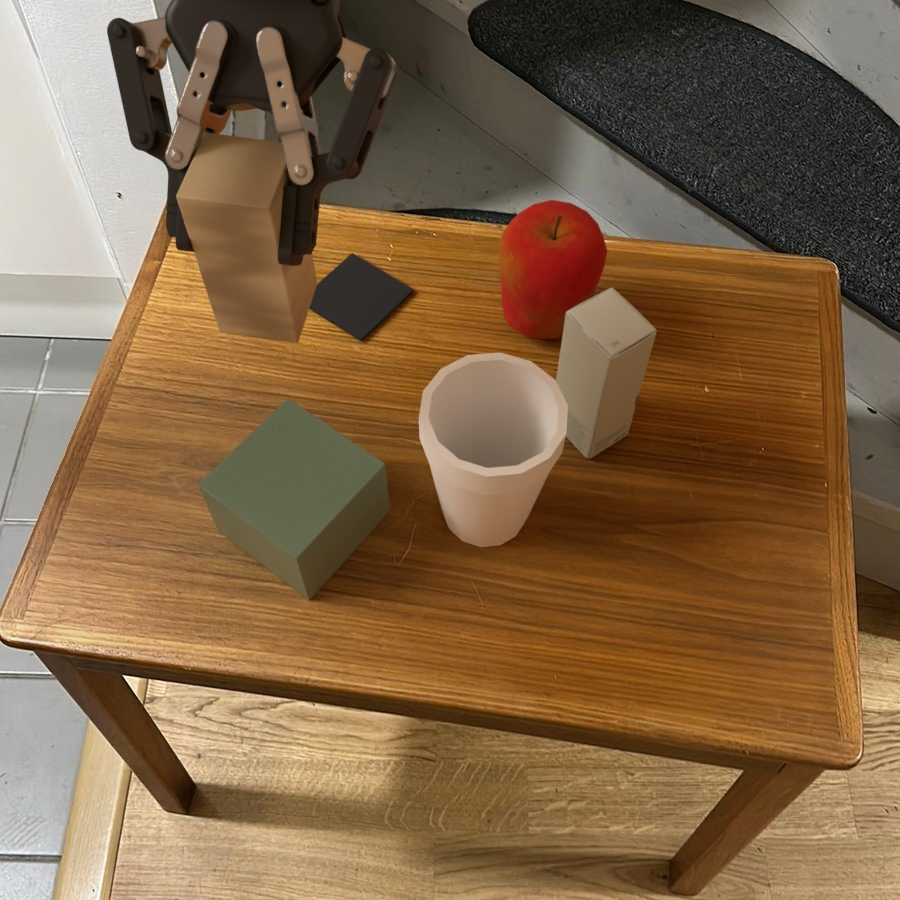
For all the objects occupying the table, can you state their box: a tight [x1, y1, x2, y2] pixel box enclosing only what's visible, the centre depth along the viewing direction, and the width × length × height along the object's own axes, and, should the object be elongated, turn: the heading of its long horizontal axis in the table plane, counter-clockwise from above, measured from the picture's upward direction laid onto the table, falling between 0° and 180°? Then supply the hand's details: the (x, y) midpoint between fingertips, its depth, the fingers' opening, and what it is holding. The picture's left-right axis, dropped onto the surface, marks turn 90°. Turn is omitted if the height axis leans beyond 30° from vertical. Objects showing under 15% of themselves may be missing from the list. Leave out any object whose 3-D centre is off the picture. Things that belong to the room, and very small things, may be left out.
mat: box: [309, 252, 415, 343], centre depth 80 cm, size 7×7×1 cm
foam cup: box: [418, 351, 568, 548], centre depth 64 cm, size 10×9×13 cm
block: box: [176, 133, 318, 344], centre depth 48 cm, size 4×4×10 cm
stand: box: [197, 397, 390, 601], centre depth 65 cm, size 9×9×7 cm
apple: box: [498, 199, 608, 340], centre depth 74 cm, size 9×8×12 cm
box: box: [555, 287, 657, 460], centre depth 68 cm, size 5×4×13 cm
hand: (240, 255), depth 46 cm, fingers closed on block, 4 cm apart
